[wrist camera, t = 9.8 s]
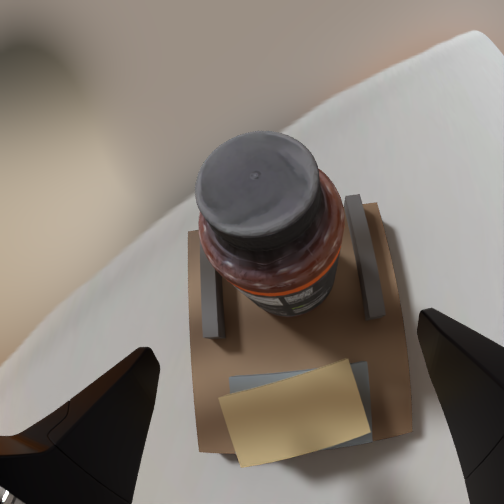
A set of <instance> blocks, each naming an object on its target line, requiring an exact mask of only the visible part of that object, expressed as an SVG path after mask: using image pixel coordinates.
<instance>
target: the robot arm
mask: <svg viewBox="0 0 504 504" xmlns="http://www.w3.org/2000/svg"><path fill="white" fill-rule="evenodd" d="M417 335H418V339H419V342H420V345H421V349H422V352H423V355H424V359H425V362H426V366H427V369H428V372H429V375H430V378H431V381H432V383H433V386H434V388H435V391H436V393H437V396H438V399H439V401H440V404H441V407H442V409H443V412H444V415H445V418H446V420H447V423H448V426H449V429H450V432H451V435H452V438H453V441H454V445H455V448H456V451H457V454H458V458H459V461H460V465H461V468H462V472H463V476H464V479H465V484H466V488H467V492H468V496H469V501H470V504H504V347H502V346H501V345H499V344H497V343H495V342H494V341H492V340H490V339H488V338H487V337H485V336H483V335H481V334H479V333H478V332H476V331H474V330H472V329H470V328H469V327H467V326H465V325H463V324H461V323H459V322H458V321H456V320H454V319H452V318H450V317H448V316H447V315H445V314H443V313H441V312H439V311H437V310H435V309H433V308H428V309H424V310H421V311H420V314H419V321H418V328H417ZM159 374H160V365H159V362H158V360H157V358H156V357H155V355H154V353H153V351H152V349H151V348H150V347H139V348H137V349H136V350H135V351H133V352H132V353H131V354H129V355H128V356H127V357H126V358H124V359H123V360H122V361H120V362H119V363H118V364H116V365H115V366H114V367H112V368H111V369H110V370H109V371H107V372H106V373H105V374H103V375H102V376H101V377H99V378H98V379H97V380H95V381H94V382H93V383H91V384H90V385H89V386H87V387H86V388H85V389H83V390H82V391H81V392H80V393H78V394H77V395H76V396H74V397H73V398H72V399H70V401H68V402H66V403H65V404H64V405H62V406H61V407H60V408H58V409H57V410H55V411H54V412H53V413H51V414H50V415H48V416H46V417H45V418H43V419H42V420H40V421H39V422H37V423H36V424H34V425H32V426H31V427H29V428H28V429H26V430H24V431H23V432H21V433H19V434H16V435H13V436H0V504H132V500H133V495H134V490H135V485H136V481H137V476H138V472H139V467H140V463H141V458H142V454H143V450H144V446H145V442H146V438H147V433H148V429H149V425H150V422H151V418H152V414H153V410H154V405H155V400H156V393H157V386H158V380H159Z"/></svg>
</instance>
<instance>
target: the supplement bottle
mask: <svg viewBox="0 0 504 504" xmlns="http://www.w3.org/2000/svg"><path fill="white" fill-rule="evenodd" d="M195 196H196V202H197V205H198V208H199V210H200V213H199V214H200V215H199V236H200V242H201V245H202V248H203V250H204V253H205V254H206V257H207V259H208V260H209V261H210V263H211V264H212V266H213V267H214V268H215V270H216V271H217V272H218V273H219V274H220V275H221V276H222V277H224V278H225V279H226V280H227V281H228V282H229V283H231V284H232V285H233V286H234V287H236V288H237V289H238V290H239V291H240V292H241V293H243V294H244V295H245V296H246V297H248V298H249V299H250V300H251V301H252V302H254V303H255V304H256V305H257V306H258V307H260V308H262V309H263V310H265V311H267V312H268V313H271V314H273V315H277V316H282V317H295V316H300V315H304V314H306V313H309V312H311V311H313V310H314V309H315V308H317V307H318V306H319V305H320V304H322V303H323V302H324V301H325V299H326V298H327V296H328V295H329V293H330V291H331V289H332V287H333V284H334V280H335V275H336V271H337V266H338V260H339V255H340V250H341V244H342V238H343V233H344V227H345V216H344V209H343V204H342V201H341V197H340V195H339V193H338V191H337V189H336V187H335V186H334V184H333V183H332V181H331V180H330V179H329V177H328V176H327V175H326V174H325V173H324V172H322V170H320V169H318V166H317V163H316V161H315V159H314V157H313V155H312V154H311V152H310V151H309V150H308V149H307V148H306V147H305V146H304V145H303V144H302V143H301V142H299V141H297V140H296V139H294V138H292V137H290V136H288V135H284V134H282V133H278V132H271V131H255V132H250V133H245V134H242V135H238V136H236V137H234V138H232V139H230V140H228V141H226V142H225V143H223V144H222V145H220V146H219V147H218V148H216V149H215V150H214V151H213V152H212V153H211V154H210V155H209V157H208V158H207V159H206V160H205V162H204V163H203V165H202V167H201V169H200V171H199V174H198V177H197V181H196V185H195Z"/></svg>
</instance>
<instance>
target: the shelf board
mask: <svg viewBox="0 0 504 504" xmlns="http://www.w3.org/2000/svg"><path fill="white" fill-rule="evenodd" d="M343 209H344V216H345V227H344V233H343V238H342V244H341V250H340V255H339V260H338V266H337V271H336V275H335V280H334V284H333V287H332V289H331V291H330V293H329V295H328V296H327V298H326V299H325V301H324V302H323V303H322V304H320V305H319V306H318V307H317V308H315V309H314V310H313V311H311V312H309V313H306V314H304V315H300V316H295V317H282V316H277V315H273V314H271V313H268V312H267V311H265V310H263V309H262V308H260V307H258V306H257V305H256V304H255V303H254V302H252V301H251V300H250V299H249V298H248V297H246V296H245V295H244V294H243V293H241V292H240V291H239V290H238V289H237V288H236V287H234V286H233V285H232V284H231V283H229V282H228V281H227V280H226V279H225V278H224V277H222V276H221V275H220V274H219V273H218V272H217V271H216V270H215V268H214V267H213V266H212V264H211V263H210V261H209V260H208V259H207V257H206V254H205V253H204V250H203V248H202V245H201V242H200V236H199V230H195V231H189V232H188V295H189V326H190V348H191V365H192V380H193V393H194V405H195V417H196V427H197V436H198V445H199V452H207V453H228V454H236V455H237V458H238V461H239V463H240V466H241V468H243V467H249V466H255V465H260V464H265V463H270V462H275V461H279V460H283V459H288V458H292V457H296V456H300V455H303V454H307V453H311V452H314V451H318V450H327V449H334V448H341V447H348V446H354V445H360V444H365V443H370V442H372V441H376V440H381V439H386V438H390V437H394V436H398V435H402V434H406V433H410V432H412V403H411V387H410V374H409V363H408V354H407V345H406V338H405V330H404V323H403V317H402V311H401V305H400V299H399V293H398V288H397V283H396V278H395V273H394V268H393V264H392V259H391V255H390V251H389V246H388V242H387V238H386V234H385V230H384V227H383V223H382V219H381V215H380V212H379V208H378V205H377V202H376V203H368V204H362V201H361V197H360V194H358V195H350V196H345V202H344V207H343Z"/></svg>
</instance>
